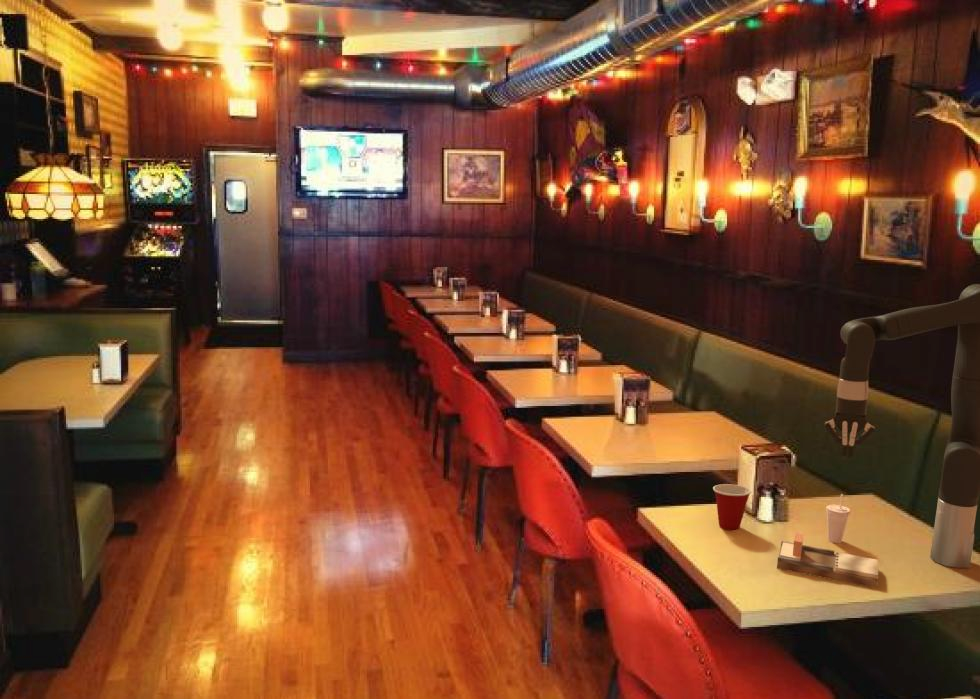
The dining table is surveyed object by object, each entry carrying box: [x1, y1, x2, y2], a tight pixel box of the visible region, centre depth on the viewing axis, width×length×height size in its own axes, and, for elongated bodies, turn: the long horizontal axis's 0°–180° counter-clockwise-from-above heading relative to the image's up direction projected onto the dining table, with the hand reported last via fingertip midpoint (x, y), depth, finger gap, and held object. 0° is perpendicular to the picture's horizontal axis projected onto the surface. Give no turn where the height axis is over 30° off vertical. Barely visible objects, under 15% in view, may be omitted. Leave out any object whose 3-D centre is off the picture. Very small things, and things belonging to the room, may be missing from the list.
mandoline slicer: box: [776, 540, 879, 589], centre depth 218 cm, size 24×12×3 cm, turn 66°
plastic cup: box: [712, 483, 752, 531], centre depth 243 cm, size 11×11×12 cm
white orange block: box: [779, 532, 804, 560], centre depth 221 cm, size 5×9×5 cm, turn 156°
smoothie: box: [825, 493, 851, 544], centre depth 235 cm, size 6×6×14 cm
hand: (846, 457), depth 224 cm, fingers closed
